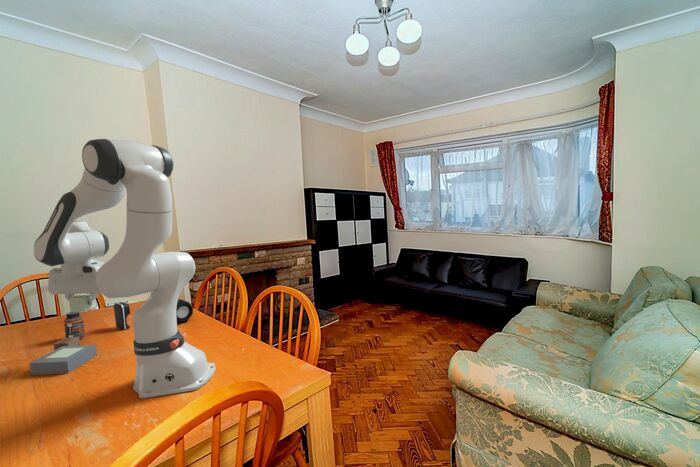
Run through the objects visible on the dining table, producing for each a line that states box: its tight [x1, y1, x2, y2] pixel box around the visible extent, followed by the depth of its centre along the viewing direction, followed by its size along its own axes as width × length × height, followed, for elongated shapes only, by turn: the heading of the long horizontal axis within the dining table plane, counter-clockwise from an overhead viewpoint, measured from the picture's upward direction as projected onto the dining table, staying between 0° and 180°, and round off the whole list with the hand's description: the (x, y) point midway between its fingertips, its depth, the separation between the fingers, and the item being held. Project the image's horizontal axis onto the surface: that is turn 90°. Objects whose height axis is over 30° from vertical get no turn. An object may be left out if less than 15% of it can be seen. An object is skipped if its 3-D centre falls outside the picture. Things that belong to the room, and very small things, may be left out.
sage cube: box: [68, 293, 97, 313], centre depth 111 cm, size 5×5×5 cm
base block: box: [29, 344, 98, 376], centre depth 108 cm, size 12×12×4 cm
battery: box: [113, 301, 131, 331], centre depth 139 cm, size 7×4×11 cm, turn 59°
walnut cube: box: [53, 337, 81, 351], centre depth 116 cm, size 5×5×5 cm
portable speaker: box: [176, 298, 194, 323], centre depth 150 cm, size 26×10×10 cm, turn 53°
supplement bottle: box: [63, 311, 86, 341], centre depth 129 cm, size 6×6×11 cm
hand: (83, 305), depth 111 cm, fingers closed on sage cube, 5 cm apart
